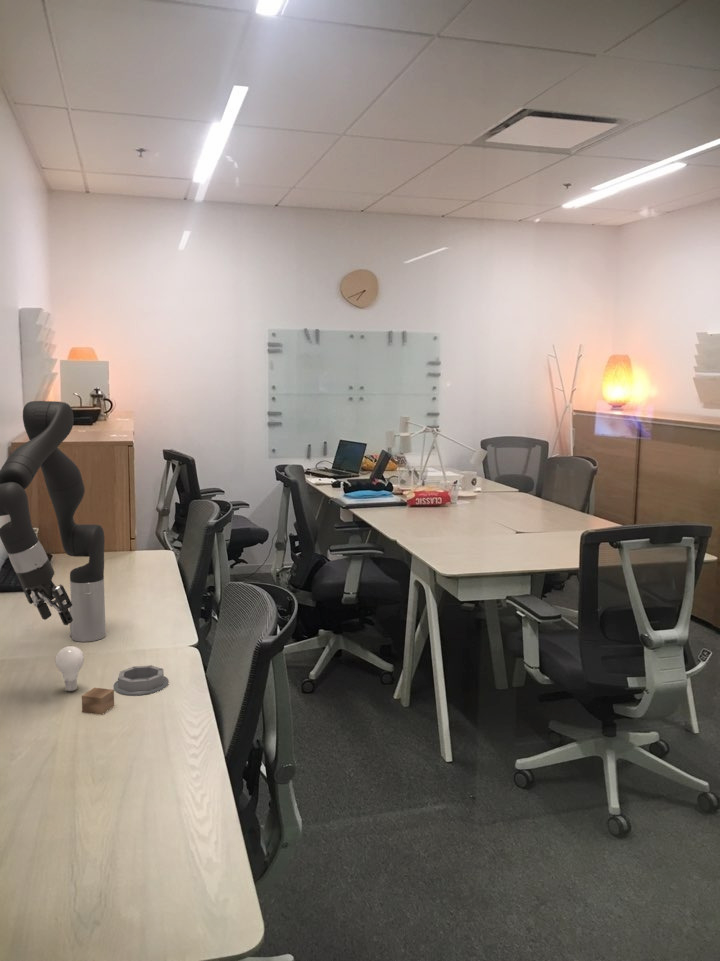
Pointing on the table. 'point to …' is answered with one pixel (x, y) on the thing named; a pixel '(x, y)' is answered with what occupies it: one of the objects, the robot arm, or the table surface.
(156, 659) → the table surface
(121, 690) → the socket collar
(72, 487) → the robot arm
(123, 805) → the table surface
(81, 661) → the lightbulb
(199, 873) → the table surface
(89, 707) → the walnut block
